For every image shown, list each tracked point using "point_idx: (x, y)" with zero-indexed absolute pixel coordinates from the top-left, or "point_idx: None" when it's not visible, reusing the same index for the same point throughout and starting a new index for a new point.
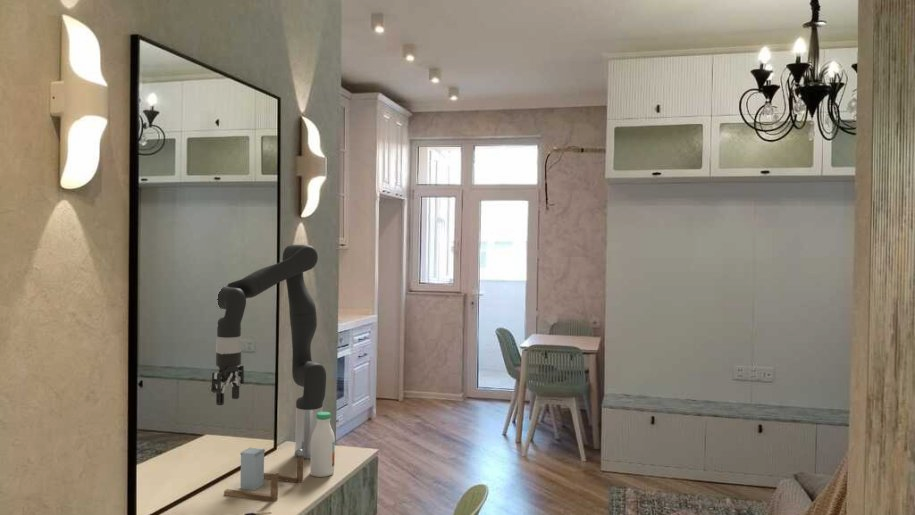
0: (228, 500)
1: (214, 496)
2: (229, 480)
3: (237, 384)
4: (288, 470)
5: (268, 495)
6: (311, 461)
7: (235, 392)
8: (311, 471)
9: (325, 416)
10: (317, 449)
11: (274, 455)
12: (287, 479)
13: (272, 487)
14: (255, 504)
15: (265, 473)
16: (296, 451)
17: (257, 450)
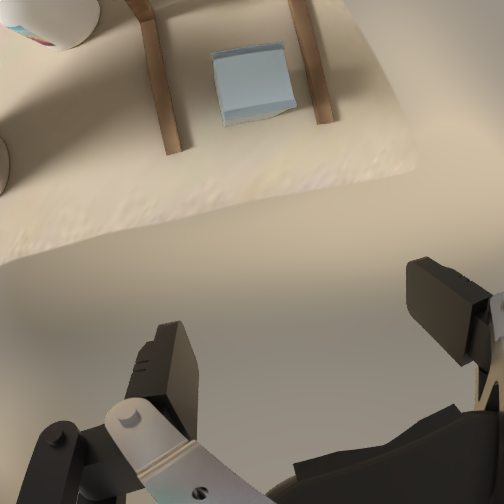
0: (351, 89)
1: (348, 138)
2: (239, 189)
3: (175, 429)
4: (89, 108)
5: (299, 3)
6: (80, 17)
7: (183, 378)
8: (92, 25)
9: None
10: None
11: (29, 239)
12: (159, 44)
13: None
14: (335, 18)
15: (163, 117)
16: None
17: (239, 66)
